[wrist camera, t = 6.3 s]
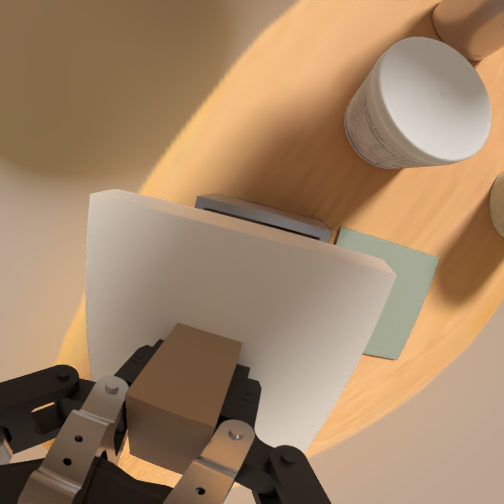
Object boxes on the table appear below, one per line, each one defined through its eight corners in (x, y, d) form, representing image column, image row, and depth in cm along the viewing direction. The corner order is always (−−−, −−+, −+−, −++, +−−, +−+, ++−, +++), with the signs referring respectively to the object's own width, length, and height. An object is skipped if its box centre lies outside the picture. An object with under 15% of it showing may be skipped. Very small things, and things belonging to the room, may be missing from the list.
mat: (340, 226, 32) (341, 227, 31) (438, 257, 31) (439, 258, 30) (304, 338, 35) (304, 340, 35) (396, 358, 34) (397, 359, 34)
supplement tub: (388, 75, 27) (440, 18, 13) (435, 144, 28) (513, 126, 14) (324, 115, 29) (346, 64, 15) (374, 187, 30) (433, 190, 16)
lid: (116, 188, 14) (5, 213, 7) (382, 258, 13) (448, 341, 6) (110, 383, 18) (55, 451, 11) (296, 442, 17) (288, 533, 10)
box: (216, 193, 33) (197, 196, 26) (323, 221, 32) (331, 231, 25) (195, 292, 36) (174, 316, 29) (293, 320, 35) (292, 350, 28)
